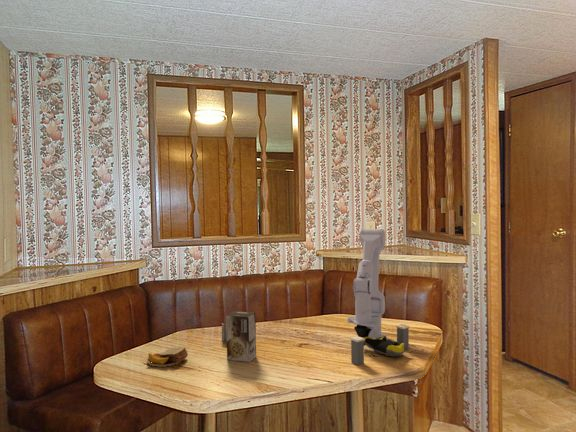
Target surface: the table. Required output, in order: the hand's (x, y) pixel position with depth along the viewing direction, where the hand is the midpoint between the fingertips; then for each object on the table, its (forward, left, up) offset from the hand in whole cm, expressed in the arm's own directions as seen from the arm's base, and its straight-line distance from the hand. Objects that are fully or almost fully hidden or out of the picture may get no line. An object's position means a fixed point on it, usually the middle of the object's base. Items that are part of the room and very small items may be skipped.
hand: (363, 345), depth 163 cm
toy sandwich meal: (-34, -63, -2) cm, 72 cm away
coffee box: (-20, -41, -2) cm, 46 cm away
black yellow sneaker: (+9, +2, -2) cm, 9 cm away
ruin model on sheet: (-40, -32, -2) cm, 51 cm away
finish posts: (+9, 0, -1) cm, 9 cm away
